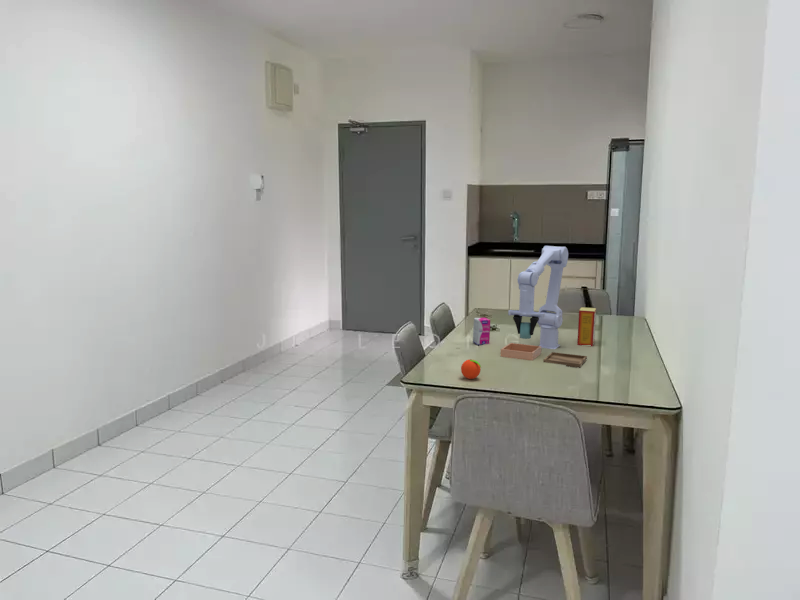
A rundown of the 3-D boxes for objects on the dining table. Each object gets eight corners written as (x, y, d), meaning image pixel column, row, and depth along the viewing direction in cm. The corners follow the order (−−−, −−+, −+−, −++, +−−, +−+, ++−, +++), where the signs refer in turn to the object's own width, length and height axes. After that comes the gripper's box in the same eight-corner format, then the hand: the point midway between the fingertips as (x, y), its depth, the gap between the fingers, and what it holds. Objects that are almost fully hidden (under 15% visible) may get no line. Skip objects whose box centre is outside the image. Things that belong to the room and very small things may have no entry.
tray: (551, 355, 251) (552, 352, 251) (586, 359, 245) (586, 356, 245) (543, 363, 239) (543, 359, 239) (579, 367, 233) (579, 364, 232)
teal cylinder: (521, 336, 251) (522, 321, 250) (532, 337, 249) (532, 322, 248) (518, 338, 247) (518, 323, 246) (529, 339, 245) (529, 324, 244)
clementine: (486, 379, 217) (487, 359, 216) (475, 383, 212) (476, 363, 211) (468, 374, 222) (468, 355, 221) (456, 378, 217) (457, 359, 216)
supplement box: (477, 345, 268) (478, 320, 266) (472, 342, 274) (473, 317, 272) (489, 345, 269) (490, 319, 268) (484, 342, 275) (485, 317, 273)
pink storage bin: (510, 350, 259) (510, 342, 258) (541, 354, 253) (541, 346, 252) (500, 357, 247) (500, 349, 247) (532, 361, 241) (532, 353, 241)
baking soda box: (579, 340, 279) (581, 306, 277) (594, 342, 277) (596, 307, 275) (577, 345, 271) (579, 309, 268) (592, 346, 268) (594, 310, 266)
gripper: (506, 301, 246) (505, 333, 248) (542, 304, 239) (540, 337, 241) (511, 298, 252) (510, 330, 254) (546, 301, 245) (545, 334, 247)
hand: (525, 334), depth 248 cm, fingers closed on teal cylinder, 4 cm apart
